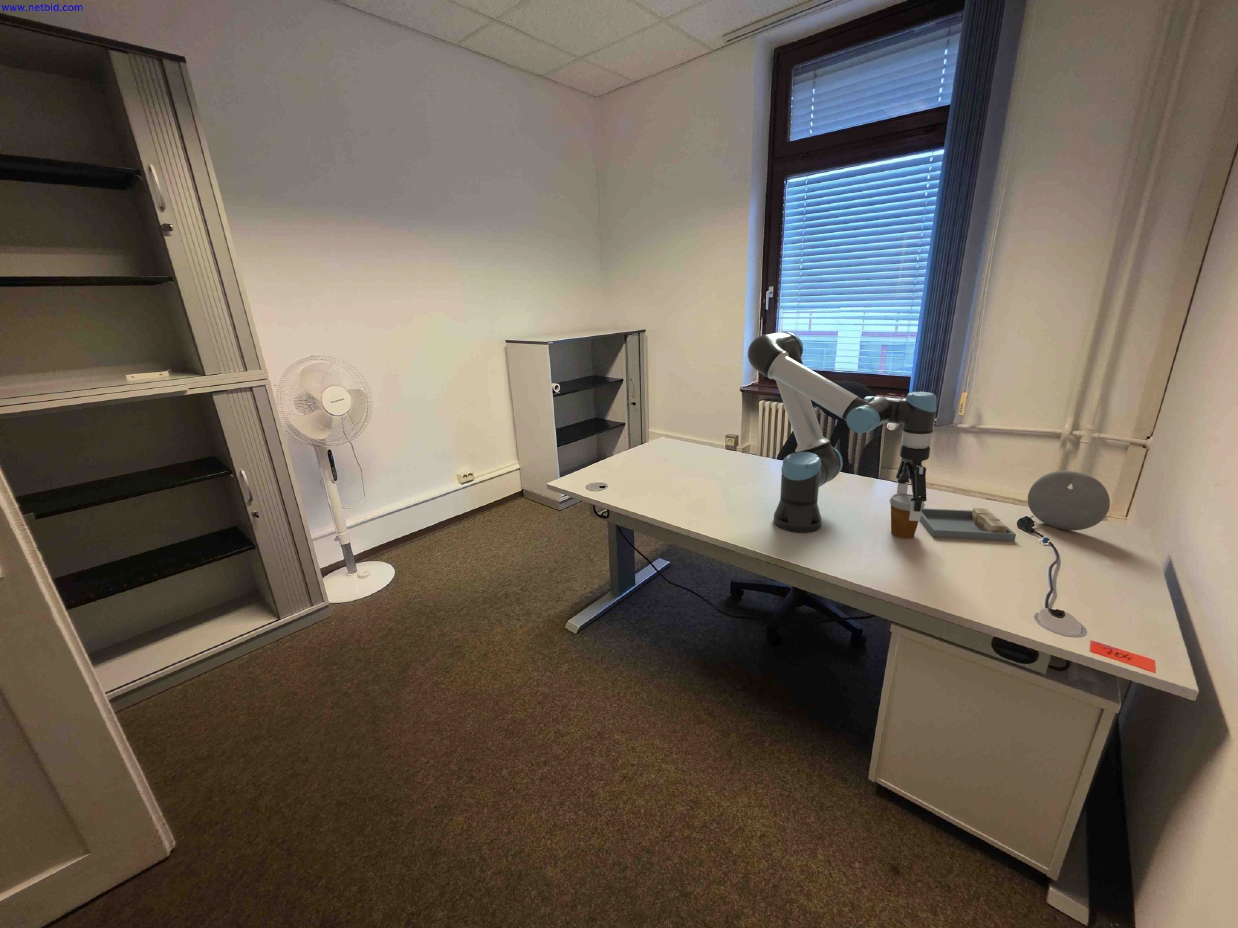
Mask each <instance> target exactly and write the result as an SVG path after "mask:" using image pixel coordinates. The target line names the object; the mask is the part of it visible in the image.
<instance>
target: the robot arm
mask: <svg viewBox="0 0 1238 928" xmlns="http://www.w3.org/2000/svg"><path fill="white" fill-rule="evenodd" d="M803 354H804V345H803V342H802V340H801V339H800V337H799V336H798V335H796V334H795V333H793V332H789V331H778V332H774V333H769V334H767V333H766V334H762V335H760V336H759V335H758V336H757V337H756V338H755V339H753V340H752V342H751V343H750V345H749V346H748V349H747V358H748V362H749V363H750V365H751V367H752V368H753V369H754V370H756V371H757V372H758V373H760V374H761V375H763V376H764V377H766V378H768V379H769V380H774V381H775V382H776V386H777V388H778V391H779V394H780V396H781V400H782V402H783V405H784V408H785V409H784V410H785V411H786V414H787V418H788V421H789V423H790V425H791V428H792V429H791V430H792V432H793V434H794V437H795V440H796V443H797V446H796V448H795V450H794V451H795V452H792V453H790V454H787V455H786V456H785V457H784V458H783V460H782V464H781V475H780V477H781V479H780V480H781V481H780V496H779V497H780V499H779V502H778V505H777V507H776V509H775V511H774V513H773V523H774V525H775V526H777V527H778V528H780V529H782V530H783V531H784V530H785V531H787V532H793V533H801V534H802V533H812V532H815V531H818V530H819V529H820V528H821V527H822V520H823V519H822V516H821V512H820V508H819V505H818V499H819V488H821V486H823V485H826V484H827V483H828V482H830V481H833V480H835V478H836V477H837V476H838V475H839V474H840V472H841V470H842V468H843V464H844V463H843V457H842V454H841V453H840V451H839V450H838V449H836V448H834V447H833V446H832V444H831V440H830V439H828V438H827V437H825V436H824V435H823V432H822V429H821V426H820V423H819V421H818V418H817V415H816V412H815V409H814V406H813V403H812V401H813V402H814V403H815V404H817V405H819V406H821V407H822V408H824V409H826V410H827V411H829V412H830V413H832V414H835V415H836V416H838V417H839V418H840V419H842V420H844V421H846V425H847V427H848V429H849V430H850V431H852V432H854V433H856V434H864V433H868V432H871V431H873V430H875V429H876V428H877V427H879V426H881V425H884V424H885V423H886V424H887V423H888V424H896V425H897V424H898V425H903V427H902V431H901V441H900V442H901V445H900V451H899V452H900V453H899V457H900V458H901V461H900V463H899V467H898V469H897V472H896V475H895V479H897V481H896V482H897V489H896V494H908V490H909V489H908V488H909V483H911V484H910V485H911V492H912V493H911V494H912V495H913V498H911V499H910V500H911V508H910V516H909V520H910V521H919V522H920V518H921V510H922V503H923V501H924V502H927V500H928V499H927V481H926V480H927V478H926V477H927V476H926V475H927V472H926V471H927V467H926V466H923V465H922V464H923V463H922V462H923V461H927V460H929V458H930V454H931V447H930V446H931V444H932V438H934V436H935V435H934V434H933V431H934V423H935V419H936V418H935V416H936V411H937V395H936V394H935V393H933V392H928V391H927V392H926V391H911V392H909V393H907V395H906V397H905V398H899V397H898V398H897V397H889V396H888V397H886V396H880V395H876V396H873V395H872V396H871V395H870V396H868V395H867V396H865V397H864V398H861V397H859V396H858V395H856V394H854V393H852V392H851V391H849V390H847V389H845V388H843V387H842V386H840V385H839V384H837V383H835V382H833V381H831V380H830V379H828V378H826V377H825V376H823V375H821V374H819V373H818V372H815V371H814V370H812V369H810V368H808V367H807V366H806V365H804V363H803V359H802V357H803Z"/></svg>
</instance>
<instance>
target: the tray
mask: <svg viewBox="0 0 1238 928" xmlns="http://www.w3.org/2000/svg"><path fill="white" fill-rule="evenodd" d="M972 512H973V509H972V510H970V509H969V510H967V509H965V510H964V509H948V508H947V509H945V508H943V509H941V508H925V507H924V508H923V509H922V513H921V518H920V521H919V522H920V523H921V525H922V526H923V528H925V530H926V531H927V532H928V533H929V535H930V536H931V537H932V538H940V539H943V538H944V539H956V540H958V539H959V540H960V539H961V540H974V541H992V542H993V541H994V542H995V541H996V542H1012V543H1015V541H1016V536H1017V533H1015V532H1014V531H1013V530H1012V529H1011V528H1009V527H1008V526H1007V529H1006V533H1003V532H984V531H983V530H981V529H980V528H978V527H977V526H976V524H974V522H973V521H972V520H971V518H972ZM992 515H994V516H996V515H995V514H993V513H992Z"/></svg>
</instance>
